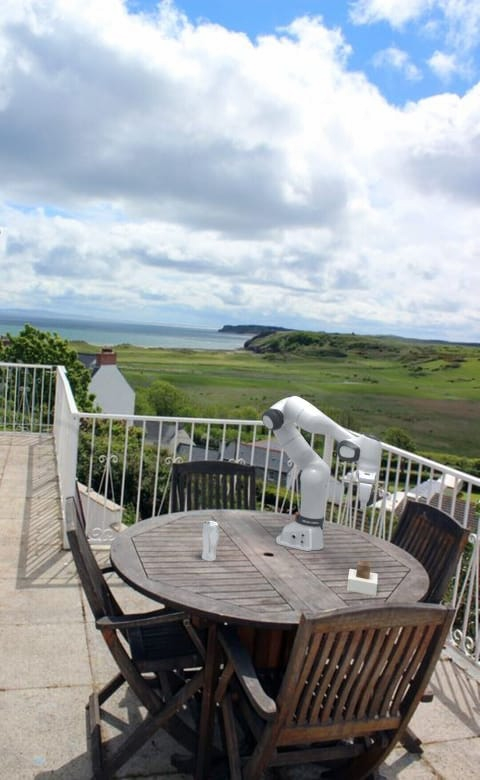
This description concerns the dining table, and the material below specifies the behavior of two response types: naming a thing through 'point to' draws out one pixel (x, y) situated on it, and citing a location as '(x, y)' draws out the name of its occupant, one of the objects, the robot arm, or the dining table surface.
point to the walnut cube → (363, 569)
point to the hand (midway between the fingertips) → (362, 506)
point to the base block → (362, 583)
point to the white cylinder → (210, 540)
